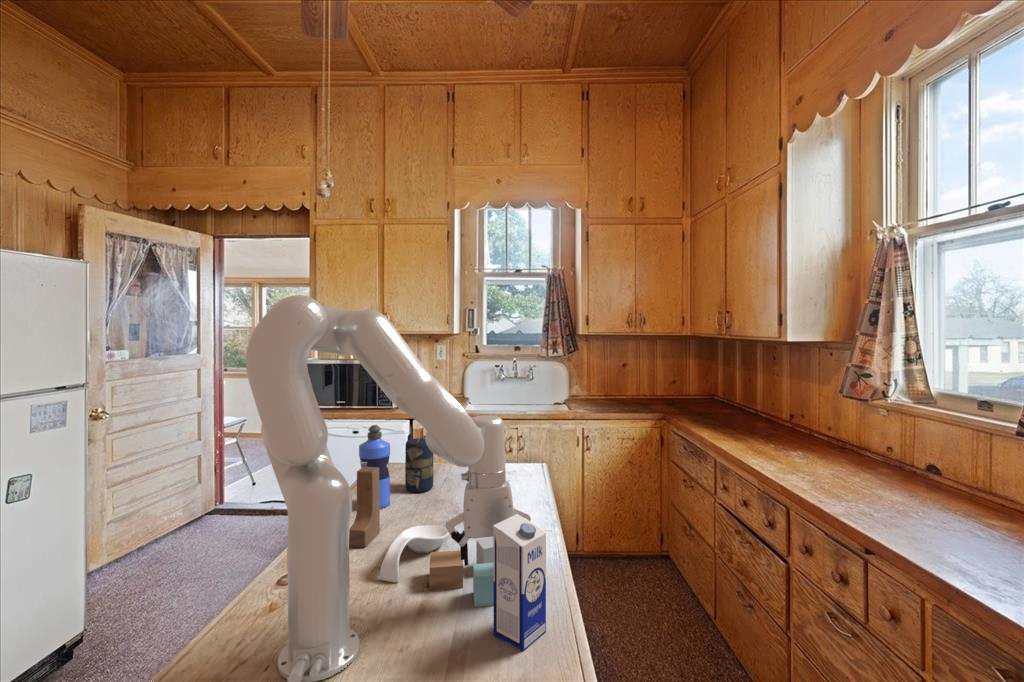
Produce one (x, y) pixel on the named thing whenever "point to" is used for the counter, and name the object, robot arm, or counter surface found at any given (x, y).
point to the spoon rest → (417, 540)
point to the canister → (418, 466)
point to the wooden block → (366, 508)
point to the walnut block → (446, 570)
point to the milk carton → (519, 581)
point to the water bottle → (377, 461)
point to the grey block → (484, 550)
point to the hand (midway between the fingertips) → (489, 560)
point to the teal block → (483, 584)
